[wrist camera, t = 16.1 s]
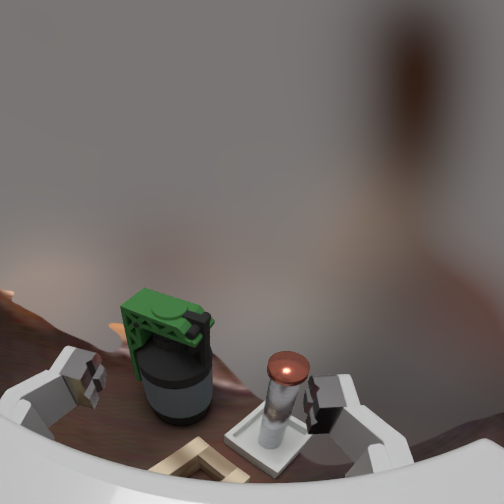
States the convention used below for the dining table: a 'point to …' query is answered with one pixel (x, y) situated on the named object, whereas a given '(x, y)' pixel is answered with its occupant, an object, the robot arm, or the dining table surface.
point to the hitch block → (200, 463)
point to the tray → (267, 460)
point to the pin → (281, 395)
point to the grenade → (170, 354)
